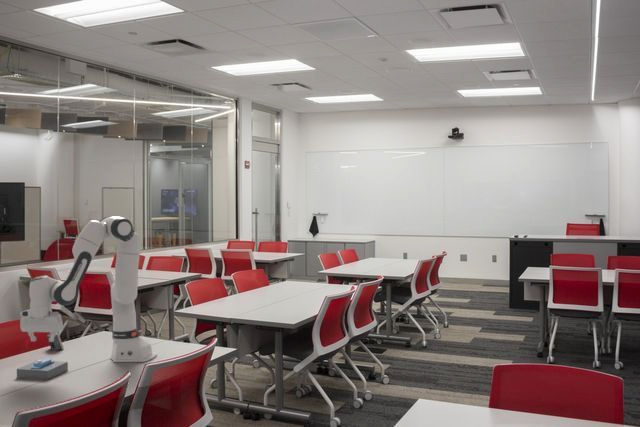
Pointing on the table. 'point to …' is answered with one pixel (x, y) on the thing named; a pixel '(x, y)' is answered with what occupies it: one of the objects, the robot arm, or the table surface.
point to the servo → (42, 363)
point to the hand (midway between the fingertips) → (42, 341)
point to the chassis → (42, 371)
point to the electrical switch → (55, 342)
